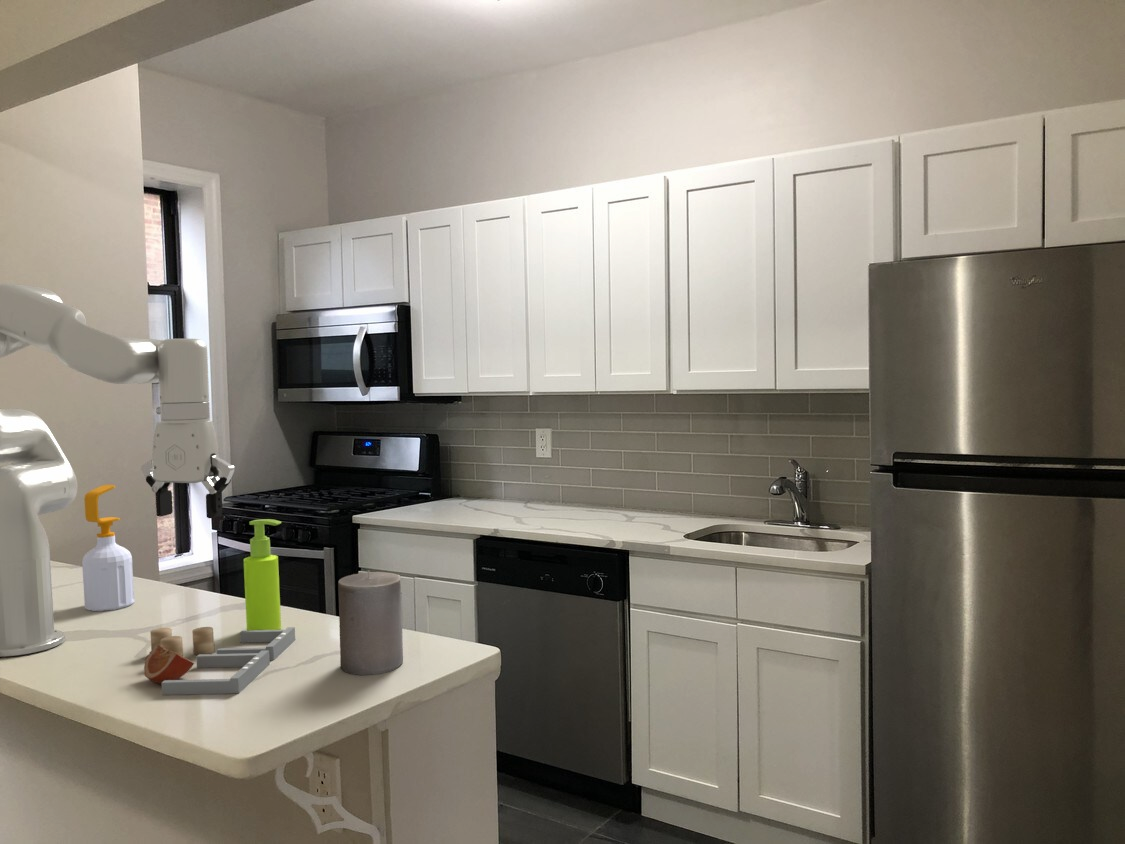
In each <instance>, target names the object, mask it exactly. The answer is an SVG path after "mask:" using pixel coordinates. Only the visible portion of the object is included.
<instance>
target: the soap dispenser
mask: <svg viewBox="0 0 1125 844" xmlns="http://www.w3.org/2000/svg"><path fill="white" fill-rule="evenodd" d="M282 522H283V521H280V520H277V519H272V518H264V519H263V518H262V519H254V520H251V521H249V522H248V523H249V524H248V525H250V526H253V527H254V536H253V537H252V538H250V539H249V545H250V551H249V552H250V556H248V557H245V558H243V577H244V598H245V600H244V601H245V616H246V617H245V618H246V620H245V621H246V631H247V630H282V620H281V619H282V617H281V615H282V613H281V597H280V596H281V595H280V594H281V593H280V575H279V556H278V555H276V554H275V555H274V554H272V553H271V538H270V537H268V536H267V535H265V532H266V531H265V525H269V526H273V527H275V526H278V525H280V524H282Z"/></svg>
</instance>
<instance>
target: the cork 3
mask: <svg viewBox="0 0 1125 844" xmlns="http://www.w3.org/2000/svg"><path fill="white" fill-rule="evenodd" d="M191 631H192V646H193V649H192V651H193V656H194V657H196V656H198V655H199V654H215V641H214V639H215V638H214V628H213V627H212V626H203V627H196V628H194V629H192V630H191Z"/></svg>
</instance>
